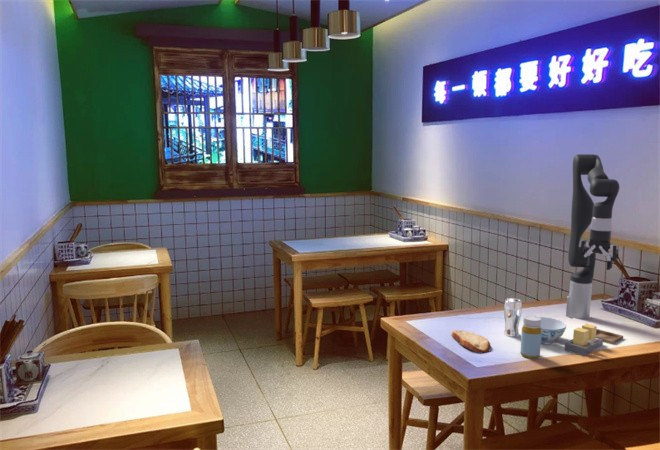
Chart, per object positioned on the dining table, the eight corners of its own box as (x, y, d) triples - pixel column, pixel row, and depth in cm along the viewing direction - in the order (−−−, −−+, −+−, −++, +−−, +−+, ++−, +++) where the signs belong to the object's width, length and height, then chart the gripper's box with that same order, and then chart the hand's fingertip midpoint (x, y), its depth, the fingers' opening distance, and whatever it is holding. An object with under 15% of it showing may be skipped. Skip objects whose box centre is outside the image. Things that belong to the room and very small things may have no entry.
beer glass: (520, 332, 230) (522, 299, 227) (519, 338, 223) (521, 303, 221) (503, 330, 233) (505, 297, 230) (501, 335, 226) (503, 301, 224)
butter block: (572, 349, 211) (573, 329, 209) (577, 346, 213) (578, 327, 212) (582, 352, 208) (584, 332, 206) (587, 349, 210) (588, 330, 209)
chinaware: (547, 350, 211) (548, 331, 210) (517, 338, 224) (518, 320, 223) (573, 343, 218) (574, 325, 216) (543, 332, 231) (544, 314, 230)
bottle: (517, 352, 209) (519, 315, 206) (534, 351, 209) (536, 314, 207) (525, 359, 202) (527, 321, 199) (543, 358, 202) (545, 320, 200)
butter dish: (564, 350, 211) (566, 329, 210) (582, 340, 221) (583, 321, 219) (585, 356, 205) (586, 335, 204) (602, 346, 215) (604, 326, 213)
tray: (585, 338, 223) (585, 334, 223) (595, 333, 230) (596, 328, 229) (612, 346, 215) (613, 341, 215) (623, 340, 221) (623, 335, 221)
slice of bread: (453, 333, 230) (453, 324, 230) (496, 340, 222) (496, 331, 221) (441, 347, 215) (441, 338, 214) (486, 355, 206) (487, 346, 206)
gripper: (579, 227, 220) (576, 266, 222) (615, 232, 209) (611, 272, 211) (587, 225, 224) (584, 263, 227) (623, 229, 214) (619, 269, 216)
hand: (597, 267), depth 219 cm, fingers open, 8 cm apart
